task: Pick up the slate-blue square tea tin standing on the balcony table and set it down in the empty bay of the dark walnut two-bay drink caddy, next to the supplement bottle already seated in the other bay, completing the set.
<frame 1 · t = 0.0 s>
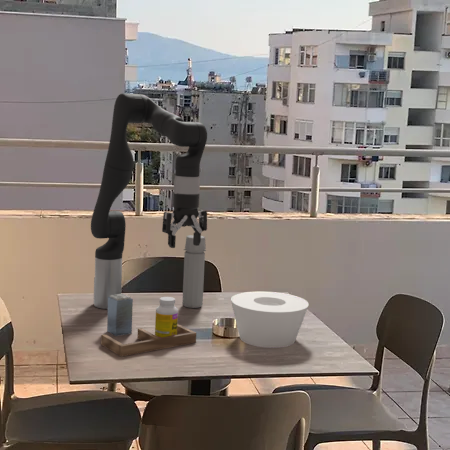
hand: (184, 246, 213), 29 cm above the table, fingers open, 8 cm apart
white tapered pot: (267, 339, 225), on the table
supplement bottle: (165, 340, 219), resting in caddy
slate tin: (119, 332, 224), on the table
caddy: (149, 343, 215), on the table
water bottle: (192, 305, 259), on the table
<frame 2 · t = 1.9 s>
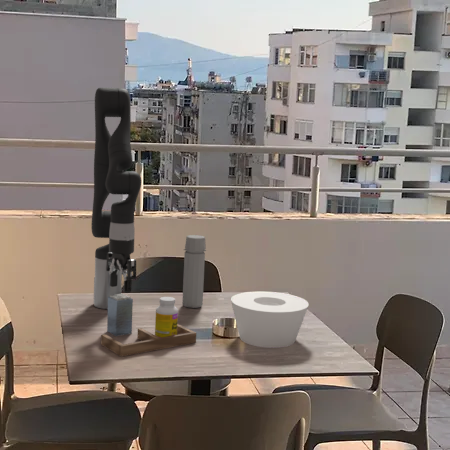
hand: (120, 289, 222), 14 cm above the table, fingers open, 8 cm apart
nothing on the table moved.
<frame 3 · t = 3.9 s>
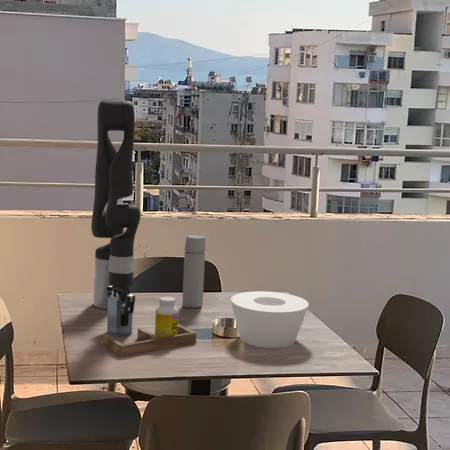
hand: (119, 322, 223), 3 cm above the table, fingers closed on slate tin, 5 cm apart
slate tin: (119, 332, 224), on the table, touching gripper
everything else where it was.
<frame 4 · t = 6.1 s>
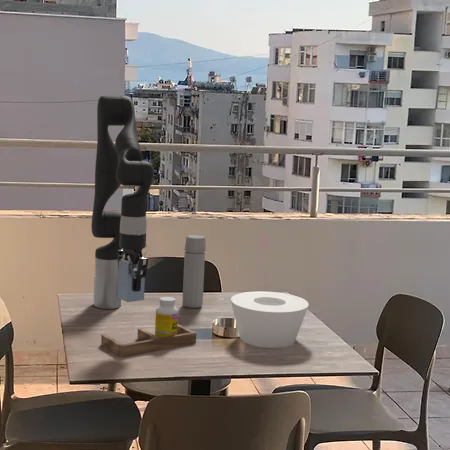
hand: (131, 288, 209), 17 cm above the table, fingers closed on slate tin, 5 cm apart
slate tin: (130, 298, 210), point 14 cm above the table, touching gripper
everything else where it was.
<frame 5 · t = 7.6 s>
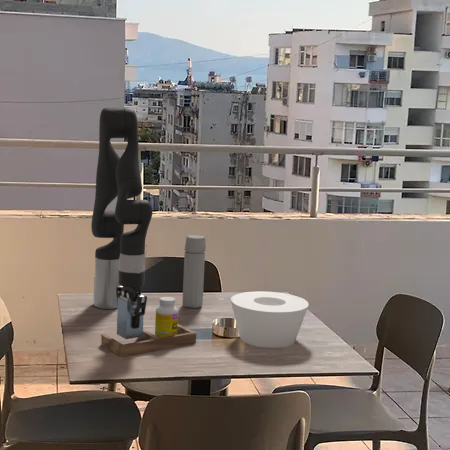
hand: (130, 325, 211), 6 cm above the table, fingers closed on slate tin, 5 cm apart
slate tin: (129, 335, 211), point 3 cm above the table, touching gripper
everything else where it was.
when the fingers open (5 cm above the table, at t = 8.8 s): slate tin drops 2 cm, resting in caddy.
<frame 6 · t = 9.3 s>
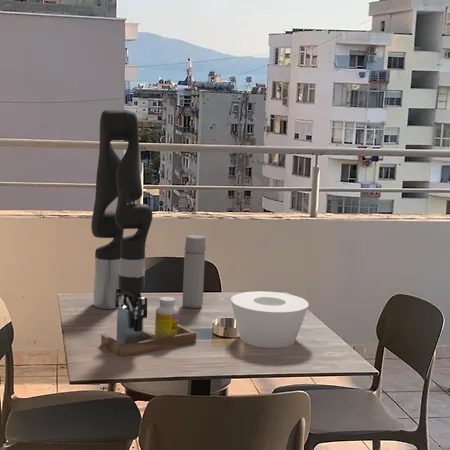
hand: (130, 327, 211), 6 cm above the table, fingers open, 8 cm apart
slate tin: (129, 345, 212), resting in caddy
everything else where it was.
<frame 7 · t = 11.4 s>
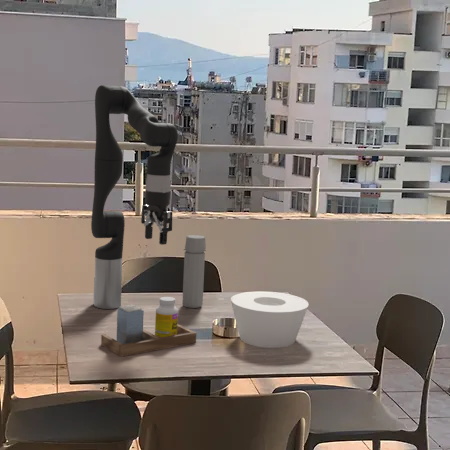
hand: (155, 241, 223), 28 cm above the table, fingers open, 8 cm apart
nothing on the table moved.
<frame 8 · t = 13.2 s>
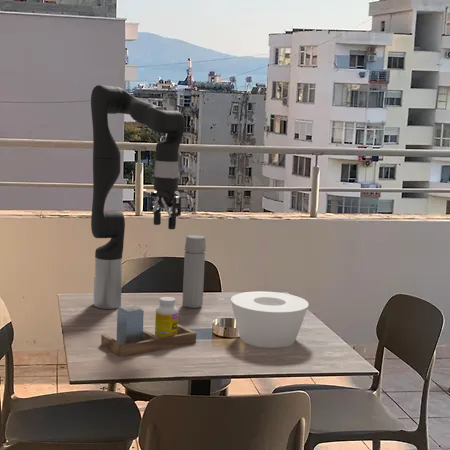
hand: (164, 226, 228), 32 cm above the table, fingers open, 8 cm apart
nothing on the table moved.
at the end: slate tin inside the target area (0.9 cm from its centre), resting in caddy; slate tin tilted 0°; supplement bottle moved 0.2 cm from its start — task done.
